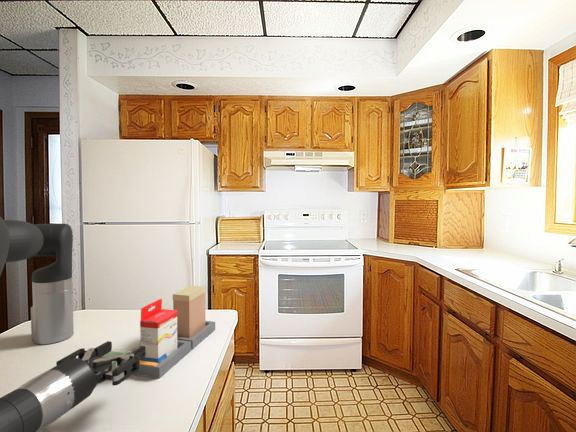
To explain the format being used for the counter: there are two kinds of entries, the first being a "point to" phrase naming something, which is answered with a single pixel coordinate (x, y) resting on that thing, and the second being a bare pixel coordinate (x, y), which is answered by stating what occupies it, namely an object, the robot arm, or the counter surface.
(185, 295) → the cartridge
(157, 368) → the grey holder frame
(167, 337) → the ink box
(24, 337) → the counter surface
